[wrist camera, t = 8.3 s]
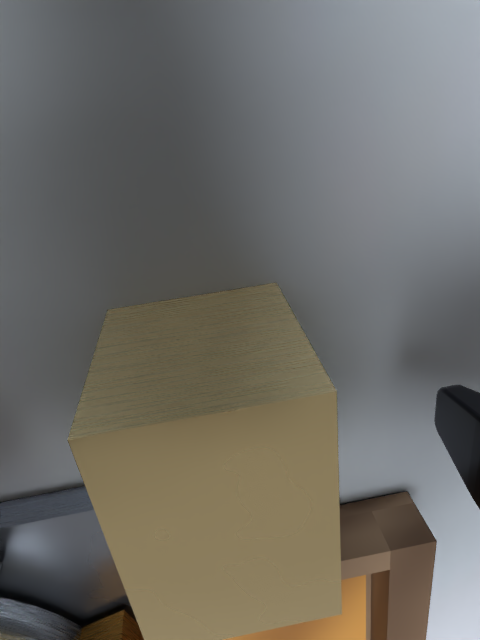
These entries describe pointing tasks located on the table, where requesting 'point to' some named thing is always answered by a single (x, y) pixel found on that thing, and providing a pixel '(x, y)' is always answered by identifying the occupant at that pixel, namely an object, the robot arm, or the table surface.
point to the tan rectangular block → (214, 464)
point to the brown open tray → (376, 576)
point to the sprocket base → (59, 557)
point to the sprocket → (61, 625)
